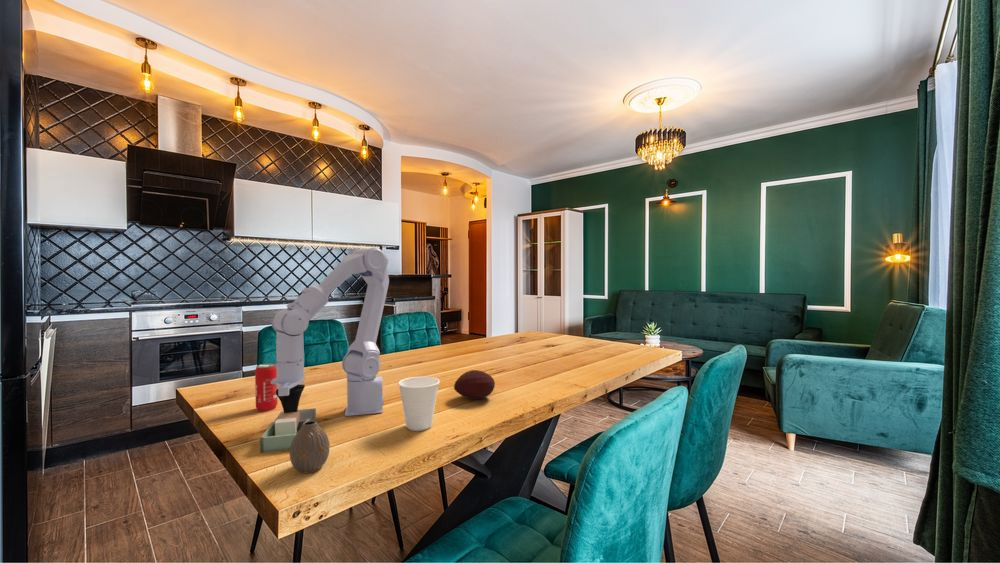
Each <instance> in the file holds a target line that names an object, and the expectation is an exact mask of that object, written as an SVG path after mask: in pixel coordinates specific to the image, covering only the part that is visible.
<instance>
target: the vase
mask: <svg viewBox="0 0 1000 563" xmlns="http://www.w3.org/2000/svg"><path fill="white" fill-rule="evenodd" d="M329 456H330V440H329V437H328V435H327V433H326V432H325V431H324V430H323V428H321V427H320V425H319V423H318V422H317V420H315V421H307V422H304V423H303V424H302V427H301V429H300V430H299V431H298V433H297V434H296V435H295V437H294V438H293V440H292V443H291V446H290V450H289V459H290V463H291V465H292V468H294V469H295V470H296V471H297V472H299V473H301V474H310V473H314V472H317V471H318V470H320V469H322V467H323V466H324V465H325V464H326V462H327V460H328V458H329Z"/></svg>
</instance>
